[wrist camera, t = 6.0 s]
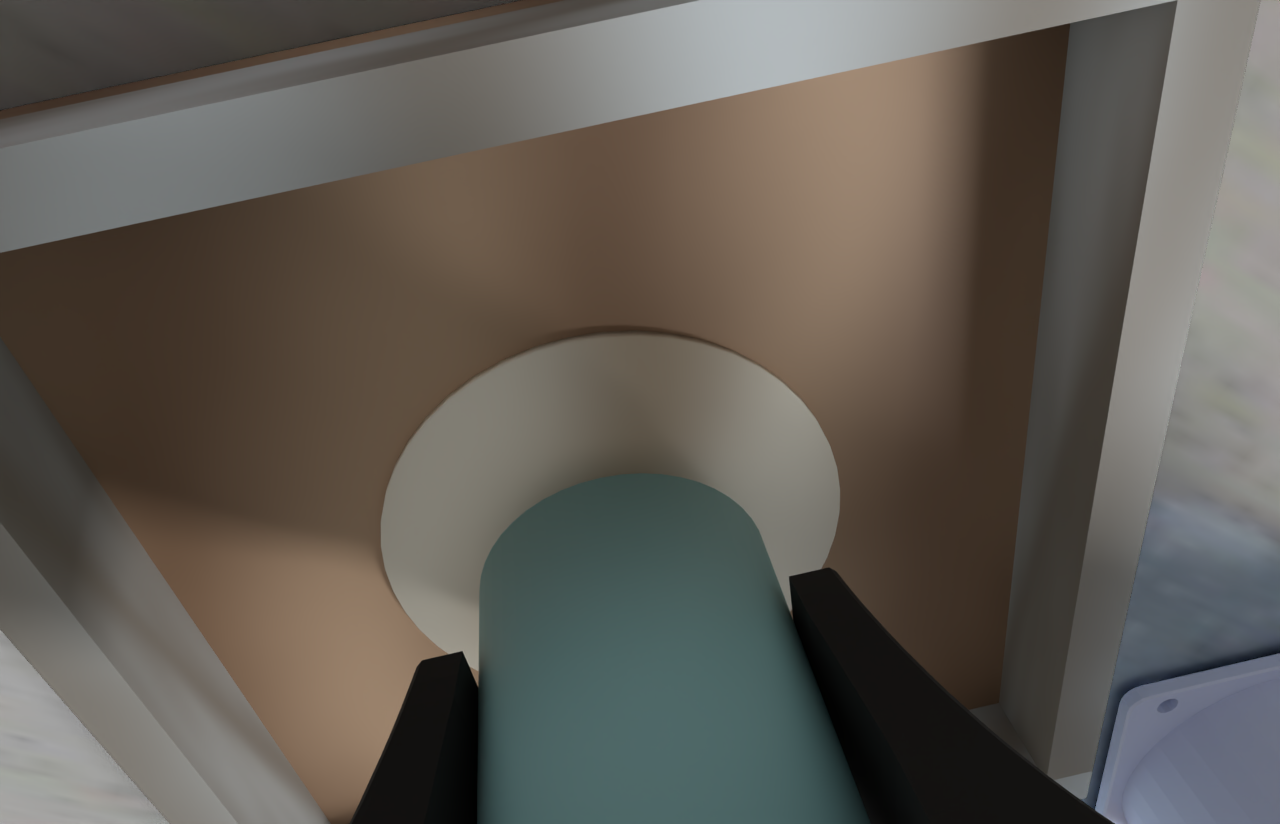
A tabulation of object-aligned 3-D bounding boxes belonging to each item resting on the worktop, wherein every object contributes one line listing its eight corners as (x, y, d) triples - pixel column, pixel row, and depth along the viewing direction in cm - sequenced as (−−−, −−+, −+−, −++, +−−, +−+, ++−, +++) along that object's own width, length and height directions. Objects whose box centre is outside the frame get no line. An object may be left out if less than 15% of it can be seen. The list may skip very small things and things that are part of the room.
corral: (1122, -127, 11) (1287, -125, 9) (1019, 692, 21) (1086, 797, 18) (-169, 146, 11) (-353, 223, 8) (329, 852, 20) (307, 981, 18)
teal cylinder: (756, 445, 13) (920, 829, 8) (774, 646, 16) (904, 1020, 11) (443, 511, 13) (414, 944, 8) (517, 703, 15) (532, 1108, 11)
